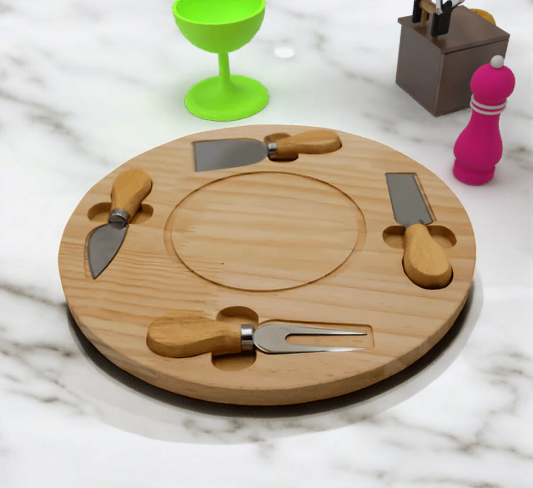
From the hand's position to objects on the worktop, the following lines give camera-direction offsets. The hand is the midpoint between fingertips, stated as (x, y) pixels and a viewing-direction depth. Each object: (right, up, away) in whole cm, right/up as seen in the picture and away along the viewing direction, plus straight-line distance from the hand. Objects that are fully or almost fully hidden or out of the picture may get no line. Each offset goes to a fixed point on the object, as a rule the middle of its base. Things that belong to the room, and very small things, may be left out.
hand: (429, 26), depth 111 cm
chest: (+5, -9, +11) cm, 15 cm away
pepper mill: (+5, -26, -8) cm, 28 cm away
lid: (+4, 0, +2) cm, 5 cm away
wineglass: (-35, -10, +12) cm, 38 cm away
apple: (+13, +2, +22) cm, 25 cm away
